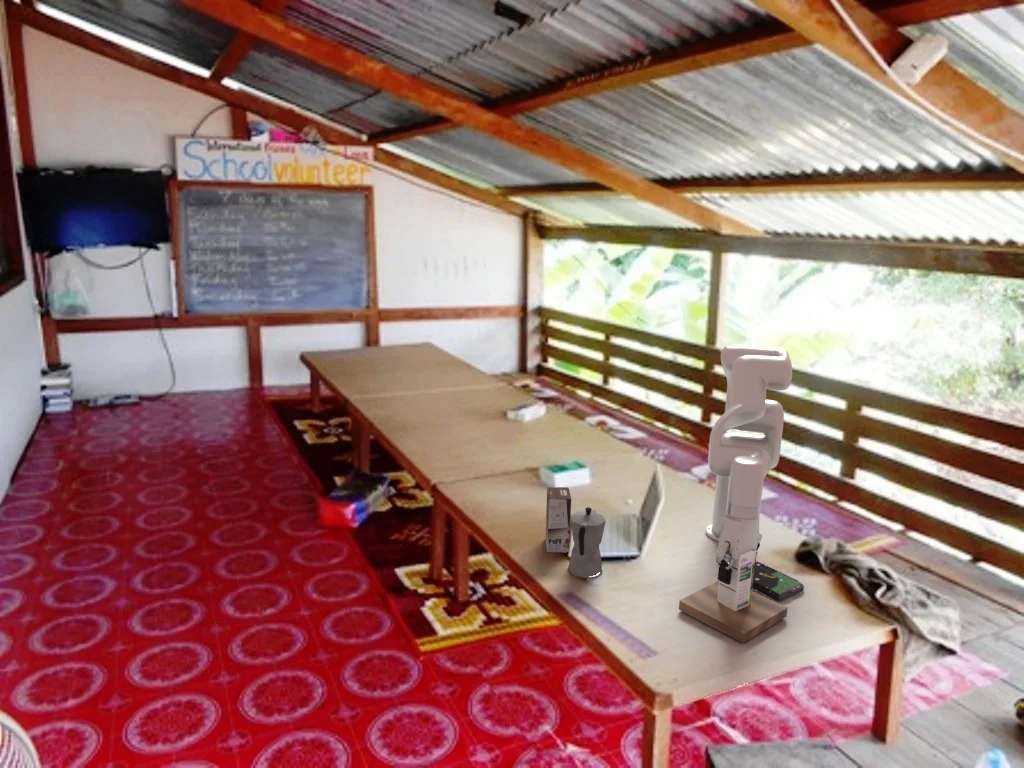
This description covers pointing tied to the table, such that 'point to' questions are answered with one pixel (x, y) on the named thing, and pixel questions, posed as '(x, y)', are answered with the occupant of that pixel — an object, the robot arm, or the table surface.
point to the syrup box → (738, 583)
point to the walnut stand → (733, 613)
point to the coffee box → (558, 519)
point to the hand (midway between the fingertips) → (736, 575)
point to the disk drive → (775, 583)
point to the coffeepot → (586, 543)
